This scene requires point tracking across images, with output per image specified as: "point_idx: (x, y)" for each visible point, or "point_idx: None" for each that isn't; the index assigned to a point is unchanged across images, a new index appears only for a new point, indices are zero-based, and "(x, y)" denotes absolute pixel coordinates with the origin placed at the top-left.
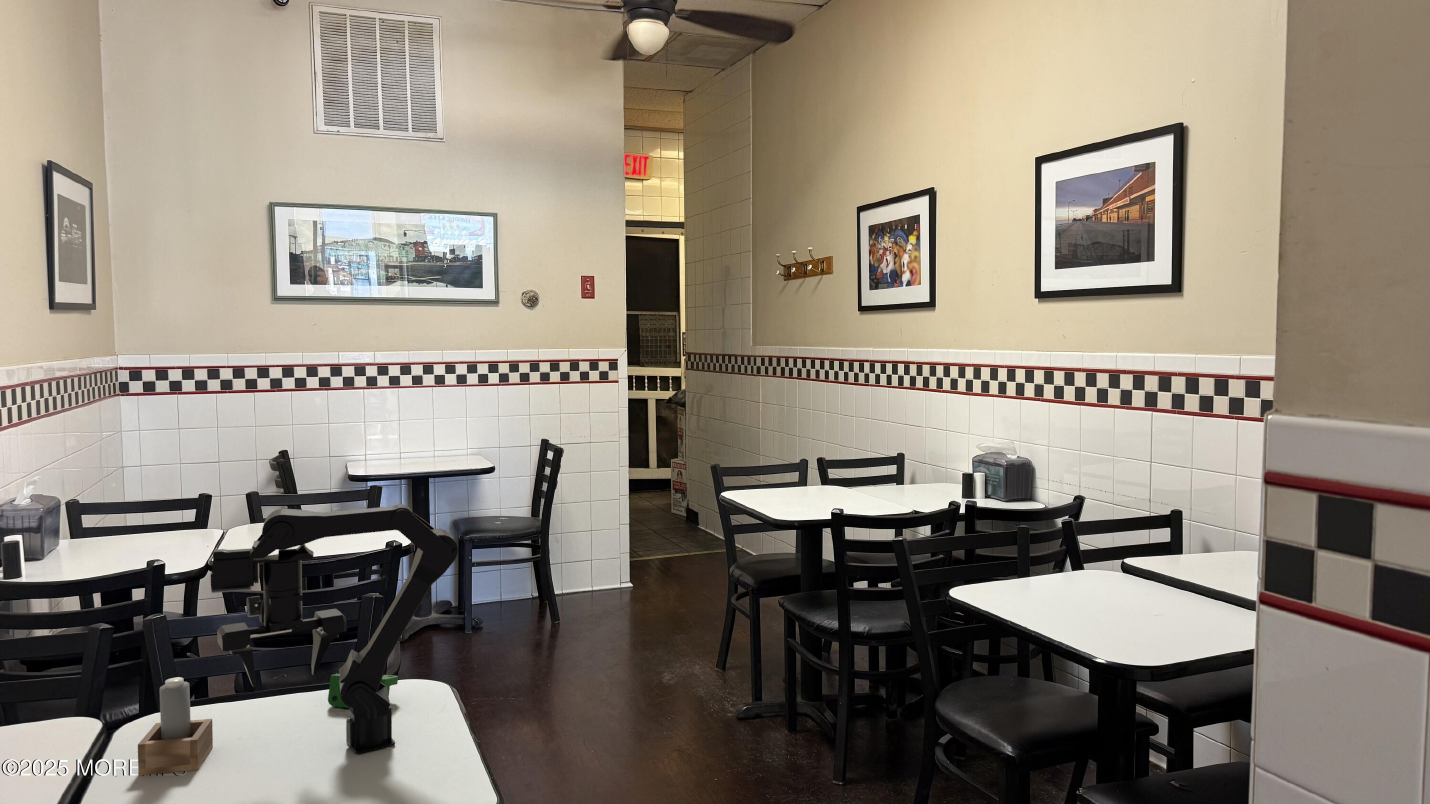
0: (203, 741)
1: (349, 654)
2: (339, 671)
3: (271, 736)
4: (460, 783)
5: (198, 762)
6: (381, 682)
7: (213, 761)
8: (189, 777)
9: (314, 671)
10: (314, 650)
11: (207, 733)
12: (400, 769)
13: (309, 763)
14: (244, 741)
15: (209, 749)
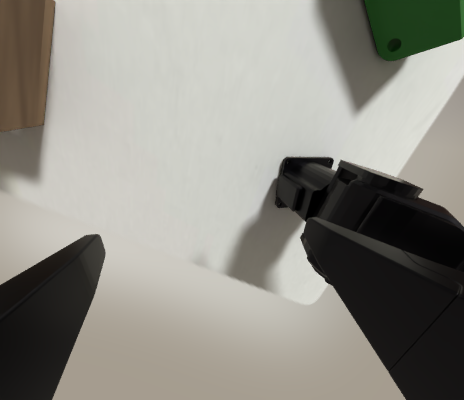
0: (14, 79)
1: (452, 230)
2: (369, 216)
3: (191, 37)
4: (308, 291)
5: (35, 121)
6: (449, 33)
7: (71, 99)
8: (33, 150)
9: (311, 247)
10: (387, 301)
11: (11, 32)
12: (290, 254)
13: (220, 198)
14: (133, 21)
15: (47, 32)
